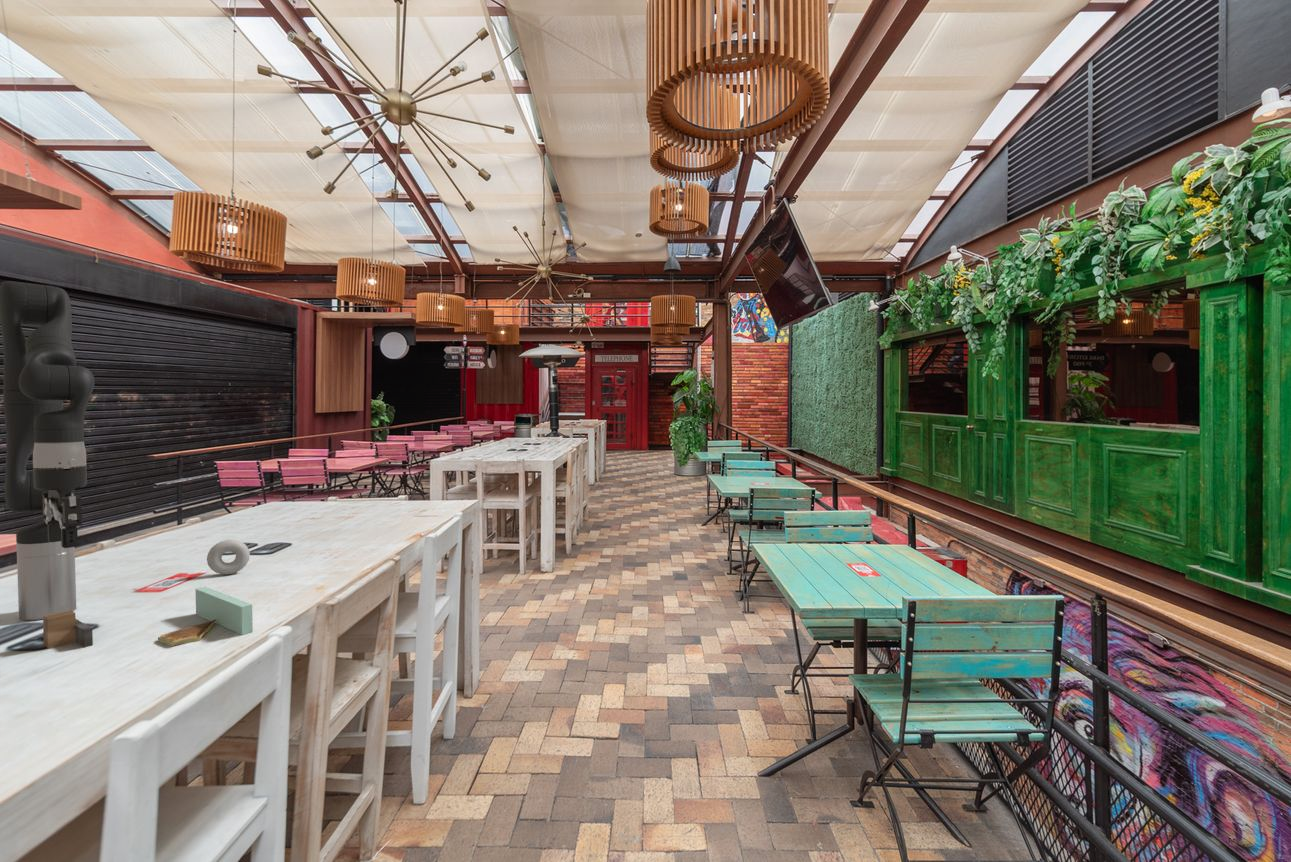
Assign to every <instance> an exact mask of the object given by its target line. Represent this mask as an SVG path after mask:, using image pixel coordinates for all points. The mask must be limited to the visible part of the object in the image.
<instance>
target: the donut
mask: <svg viewBox="0 0 1291 862" xmlns="http://www.w3.org/2000/svg"><path fill="white" fill-rule="evenodd" d="M227 552H232V553H234V555H235V558H234V559H233V561H231V562H225V561H224V560H223V558H222V557H223V555H224V554H225V553H227ZM250 556H251V554H250V549H249V547H248V546H247V545H246V544H245V543H244V542H242V541H241V540H238V539H237V540H236V539H225V540H221V541H219V542H218V543H215V544H214V545H213V546H212V547H211V548H210V549H209V551H208V552H207V556H206V562H207V565H208V568H210V570H211V571H213V572H214V573H216V574H219V575H231V574H232V575H233V574H236V573H238V572H240V571H242V570H243V569H244V568H245V567H247V565H248V562H249V561H250V558H251V557H250Z"/></svg>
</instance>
